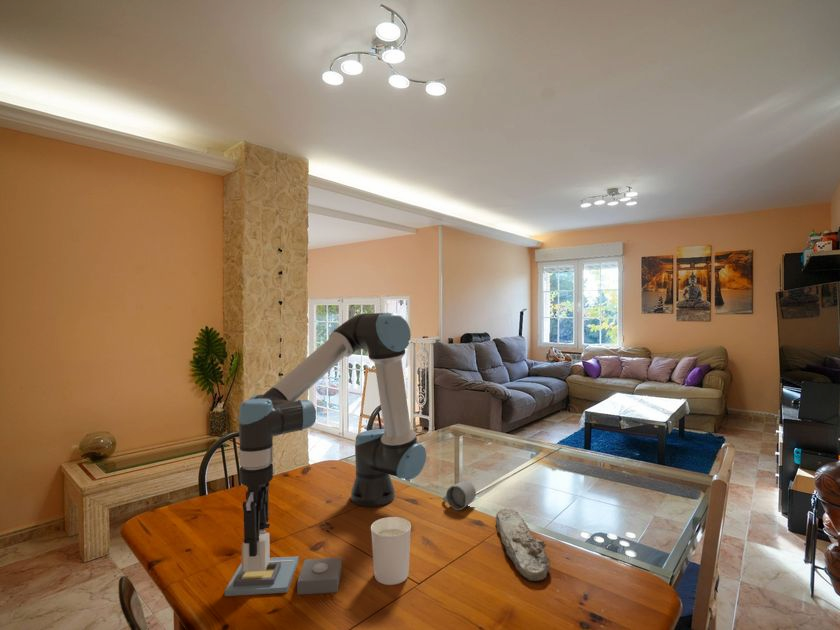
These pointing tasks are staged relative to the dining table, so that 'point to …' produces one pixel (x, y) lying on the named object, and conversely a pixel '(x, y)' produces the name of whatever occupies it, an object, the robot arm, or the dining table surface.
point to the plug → (264, 553)
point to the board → (264, 578)
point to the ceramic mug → (460, 495)
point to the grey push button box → (319, 576)
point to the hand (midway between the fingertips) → (257, 561)
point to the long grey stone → (522, 545)
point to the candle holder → (391, 549)
